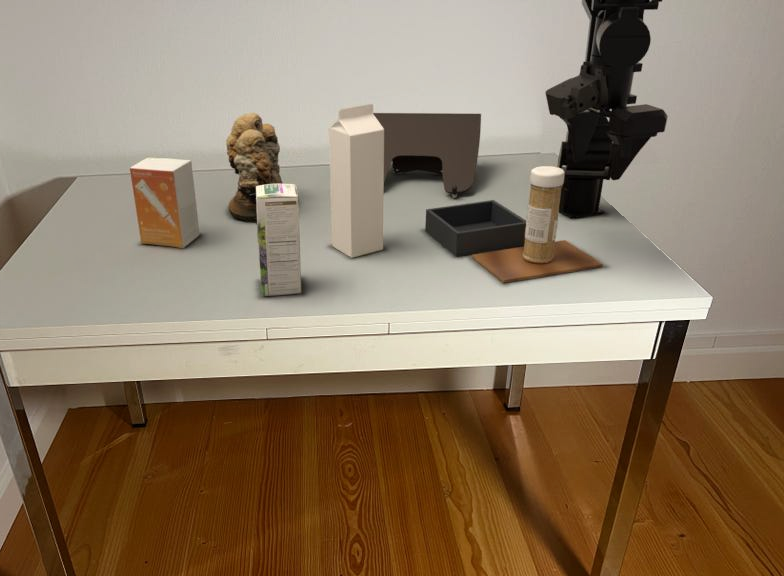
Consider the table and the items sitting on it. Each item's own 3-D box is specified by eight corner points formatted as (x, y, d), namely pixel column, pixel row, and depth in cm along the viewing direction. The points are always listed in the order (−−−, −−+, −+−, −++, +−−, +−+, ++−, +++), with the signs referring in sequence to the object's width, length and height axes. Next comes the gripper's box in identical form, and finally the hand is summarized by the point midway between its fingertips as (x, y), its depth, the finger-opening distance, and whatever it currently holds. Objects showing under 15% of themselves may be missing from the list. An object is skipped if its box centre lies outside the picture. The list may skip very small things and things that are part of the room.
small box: (140, 244, 126) (128, 167, 119) (159, 231, 131) (148, 156, 124) (183, 249, 124) (173, 170, 117) (201, 235, 129) (192, 159, 122)
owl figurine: (287, 224, 131) (281, 124, 122) (220, 224, 132) (210, 126, 124) (299, 191, 146) (294, 100, 138) (239, 192, 148) (231, 102, 139)
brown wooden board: (564, 243, 119) (565, 240, 119) (602, 267, 110) (603, 263, 110) (471, 257, 115) (471, 254, 115) (503, 283, 107) (503, 280, 107)
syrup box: (260, 280, 111) (253, 184, 104) (300, 277, 112) (295, 181, 104) (261, 297, 107) (254, 197, 99) (303, 294, 107) (298, 194, 99)
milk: (383, 250, 120) (385, 107, 108) (350, 258, 117) (350, 113, 106) (362, 238, 124) (362, 99, 113) (330, 246, 122) (327, 105, 110)
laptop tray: (353, 219, 148) (349, 185, 141) (369, 139, 160) (366, 104, 153) (473, 224, 144) (475, 188, 136) (479, 141, 155) (482, 104, 148)
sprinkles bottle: (559, 259, 112) (572, 169, 105) (538, 267, 110) (549, 176, 103) (535, 250, 116) (546, 163, 109) (514, 257, 113) (524, 169, 107)
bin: (491, 221, 128) (493, 199, 126) (527, 245, 118) (529, 222, 117) (425, 231, 126) (425, 209, 124) (455, 256, 116) (457, 233, 114)
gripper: (523, 49, 106) (512, 159, 114) (601, 71, 91) (582, 197, 99) (593, 43, 109) (578, 151, 117) (681, 63, 93) (656, 187, 101)
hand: (595, 170), depth 108 cm, fingers open, 9 cm apart
